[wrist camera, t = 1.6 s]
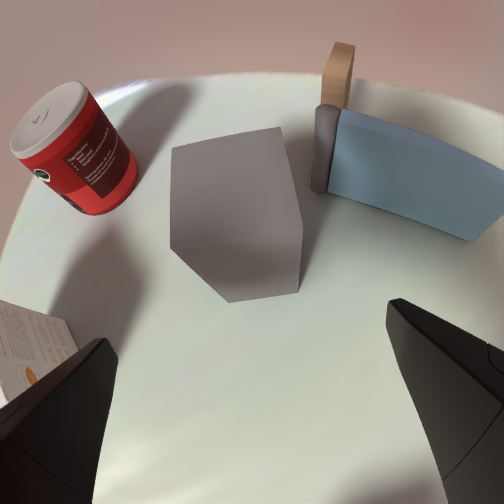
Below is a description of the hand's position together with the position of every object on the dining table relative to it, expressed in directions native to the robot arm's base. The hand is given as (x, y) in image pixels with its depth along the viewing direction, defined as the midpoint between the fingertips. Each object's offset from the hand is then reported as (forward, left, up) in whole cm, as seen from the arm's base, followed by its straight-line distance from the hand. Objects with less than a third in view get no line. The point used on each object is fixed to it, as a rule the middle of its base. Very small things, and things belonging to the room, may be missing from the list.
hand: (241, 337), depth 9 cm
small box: (-1, +18, -12) cm, 22 cm away
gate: (+9, -12, -12) cm, 19 cm away
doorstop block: (+6, 0, -12) cm, 14 cm away
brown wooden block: (+15, -8, -12) cm, 21 cm away
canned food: (+17, +14, -12) cm, 25 cm away
